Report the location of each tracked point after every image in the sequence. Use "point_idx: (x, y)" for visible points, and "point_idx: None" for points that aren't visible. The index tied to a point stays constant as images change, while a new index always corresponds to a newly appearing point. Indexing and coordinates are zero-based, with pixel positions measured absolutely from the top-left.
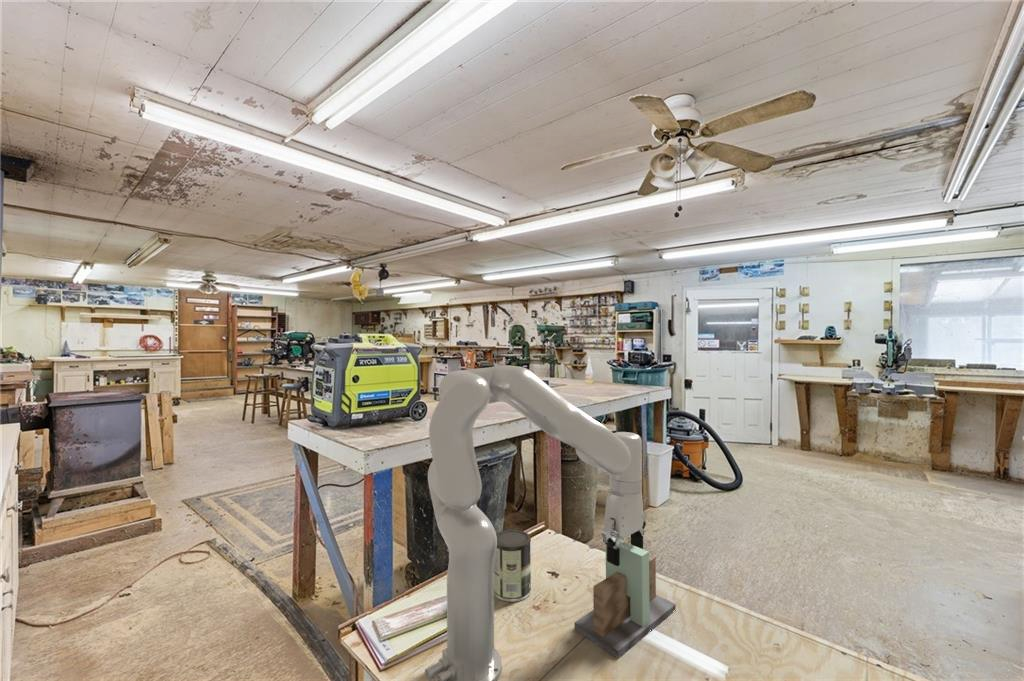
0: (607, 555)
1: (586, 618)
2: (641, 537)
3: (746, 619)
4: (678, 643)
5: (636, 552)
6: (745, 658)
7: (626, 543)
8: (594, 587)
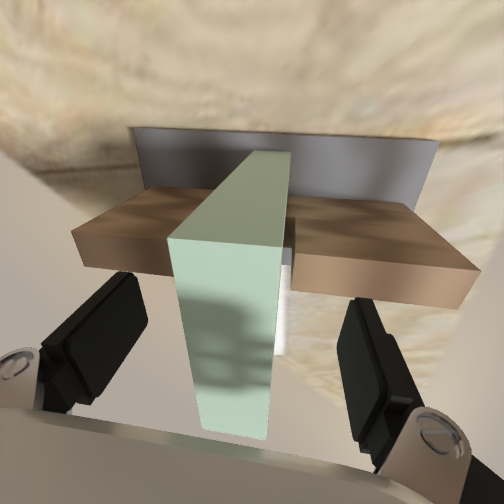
0: (101, 292)
1: (169, 143)
2: (361, 440)
3: (433, 359)
4: (278, 299)
5: (209, 410)
6: (317, 366)
7: (260, 356)
8: (74, 235)
